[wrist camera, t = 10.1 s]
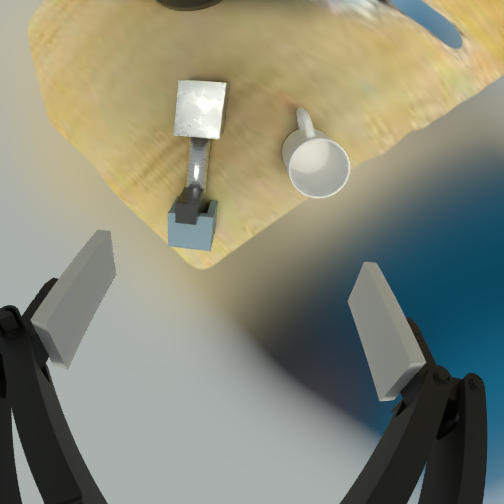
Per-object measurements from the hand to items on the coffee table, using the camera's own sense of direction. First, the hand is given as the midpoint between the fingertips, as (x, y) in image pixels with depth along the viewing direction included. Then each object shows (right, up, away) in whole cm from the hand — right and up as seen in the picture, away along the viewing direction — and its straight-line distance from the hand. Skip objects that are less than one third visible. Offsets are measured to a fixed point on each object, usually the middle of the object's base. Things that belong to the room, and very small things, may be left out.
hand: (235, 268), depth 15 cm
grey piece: (-8, +14, +31) cm, 35 cm away
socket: (-9, +7, +37) cm, 38 cm away
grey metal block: (-6, +23, +26) cm, 36 cm away
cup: (+9, +19, +30) cm, 36 cm away
